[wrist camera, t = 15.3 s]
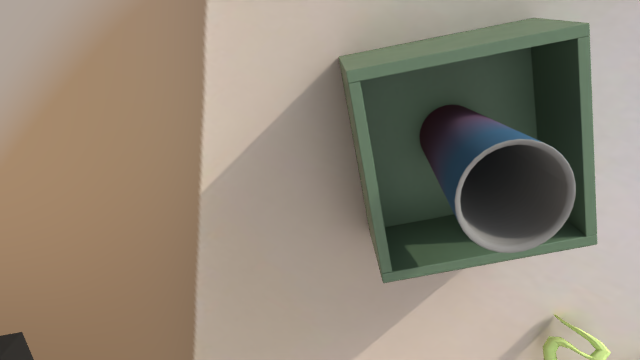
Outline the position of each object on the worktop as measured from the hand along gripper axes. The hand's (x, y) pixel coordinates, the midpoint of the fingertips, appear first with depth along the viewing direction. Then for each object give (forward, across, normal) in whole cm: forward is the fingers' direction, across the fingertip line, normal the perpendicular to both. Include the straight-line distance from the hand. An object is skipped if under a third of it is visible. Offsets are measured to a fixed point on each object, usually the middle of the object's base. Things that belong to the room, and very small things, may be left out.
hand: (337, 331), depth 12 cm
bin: (+35, +10, -6) cm, 37 cm away
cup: (+34, +10, -6) cm, 36 cm away
